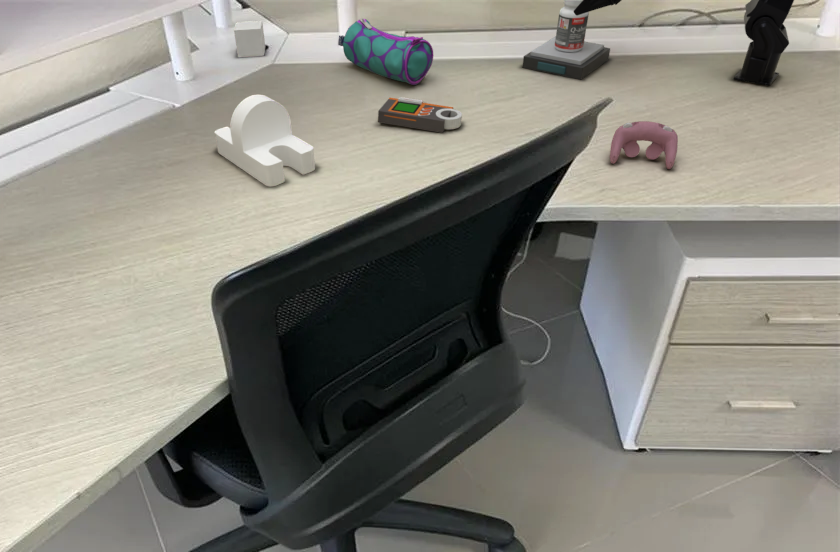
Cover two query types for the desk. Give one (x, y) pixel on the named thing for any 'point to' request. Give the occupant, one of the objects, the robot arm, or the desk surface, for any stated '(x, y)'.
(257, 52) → the light grey cube
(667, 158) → the video game controller
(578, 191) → the desk surface
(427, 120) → the electronic device
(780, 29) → the robot arm
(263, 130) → the white slotted bracket
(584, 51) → the scale
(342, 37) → the pencil case
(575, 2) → the pill bottle
